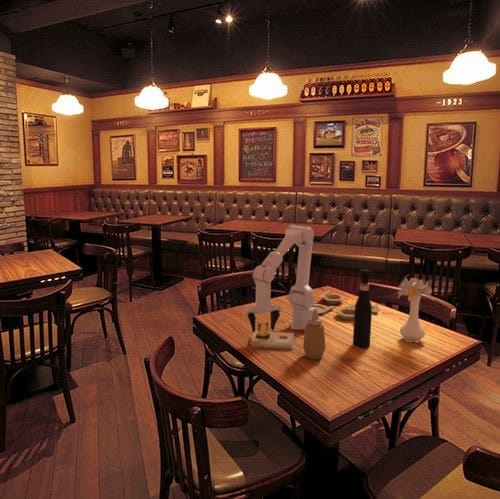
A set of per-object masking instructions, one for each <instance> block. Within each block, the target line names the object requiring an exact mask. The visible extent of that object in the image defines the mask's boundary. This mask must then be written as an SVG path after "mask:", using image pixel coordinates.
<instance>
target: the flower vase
mask: <svg viewBox="0 0 500 499" xmlns="http://www.w3.org/2000/svg"><path fill="white" fill-rule="evenodd" d="M397 289H400V290H399V291H398V292H397V295H398V296H397V299H399V298H401V296H407V301H408V302H410V306H409V309H410V310H409V313H408V314H409V315H408V319H407V321H406V322H405V323H404V324H403V325H402V326H401V327H400V329H399V333H400V335H401V336H402V337H403V340H404V339H405V340H407V341H411V342H417V341H421V340H422V339H423V338H424V337H425V335H426V331H425V328H423V326H422V325H421V324H420V321H419V304H420V301H421V300H420V299H421V298H422V294H424V295H425V296H427V297H428V298H429V299H431V300H432V301H434V298H433V295H431V294H432V293H433V289H432V287H431V285H429V282H428V280H427V281H426V282H425V284H424V282H423V280H422V279H418V278H416V277H411V278H410V279H409V280H408V278H406V277H405V278H404V279H403V281H401V282H400V284H399V285H398V286H397ZM405 340H404V341H405ZM407 341H406V342H407Z"/></svg>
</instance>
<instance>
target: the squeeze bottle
mask: <svg viewBox="0 0 500 499" xmlns="http://www.w3.org/2000/svg"><path fill="white" fill-rule="evenodd" d="M322 323H323V319H322V318H321V317H320V316H319V314H318V311H317V309H314V311H313V315H312V317H310V318H309V323H308V324H307V325H306V328H305V330H304V336H303V346H302V347H303V351H304V354H305V356H306V358H308V359H310V360H320V359H322V358H323V355H324V354H325V352H326V351H325V350H326V346H327V345H326V335H325V333H326V331H325V326H324V325H323V324H322Z"/></svg>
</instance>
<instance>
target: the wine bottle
mask: <svg viewBox="0 0 500 499" xmlns="http://www.w3.org/2000/svg"><path fill="white" fill-rule="evenodd" d="M371 273H372V272H371V269H369V268H361V269H359V279H361V282H360V285H359V290H358V298H357V300H356V306H355V312H354V320H353V333H352V334H353V335H352V346H353V345H354V346H353V347H355V346H356V347H355V348H357V347H359V348H358V349H361V348H365V349H368V348H367V347H369V346H370V347H371V335H372V334H371V332H372V314H373V313H372V307H371V305H372V303H371V302H372V301H371V298H370V288H369V287H370V285H369V280H371V275H372V274H371ZM370 347H369V348H370Z"/></svg>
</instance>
